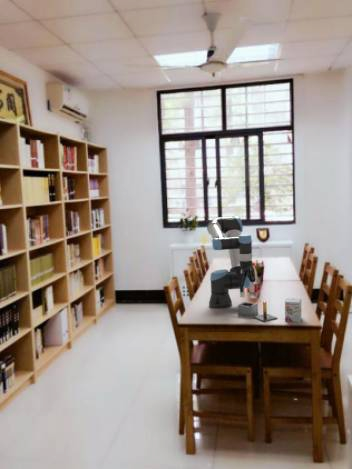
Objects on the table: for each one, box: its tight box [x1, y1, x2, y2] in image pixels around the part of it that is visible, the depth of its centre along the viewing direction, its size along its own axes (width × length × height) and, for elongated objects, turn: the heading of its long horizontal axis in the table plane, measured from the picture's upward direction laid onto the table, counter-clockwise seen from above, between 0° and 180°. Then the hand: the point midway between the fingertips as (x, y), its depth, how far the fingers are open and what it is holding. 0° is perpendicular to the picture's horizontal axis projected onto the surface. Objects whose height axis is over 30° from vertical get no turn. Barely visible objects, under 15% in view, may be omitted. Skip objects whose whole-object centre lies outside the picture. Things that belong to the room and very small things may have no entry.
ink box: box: [284, 297, 302, 323], centre depth 251 cm, size 9×9×12 cm
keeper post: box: [252, 301, 278, 323], centre depth 257 cm, size 10×10×10 cm
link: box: [237, 301, 259, 318], centre depth 267 cm, size 9×9×6 cm
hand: (247, 294), depth 266 cm, fingers open, 13 cm apart
